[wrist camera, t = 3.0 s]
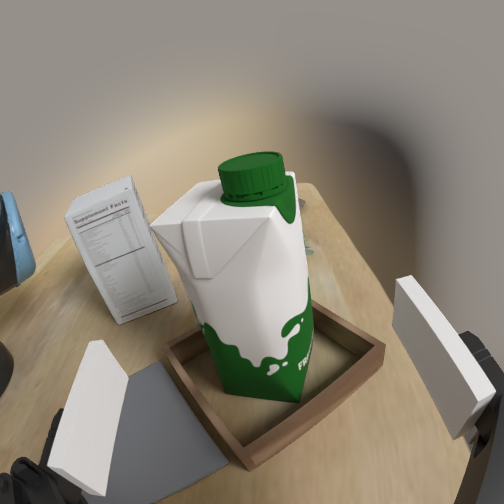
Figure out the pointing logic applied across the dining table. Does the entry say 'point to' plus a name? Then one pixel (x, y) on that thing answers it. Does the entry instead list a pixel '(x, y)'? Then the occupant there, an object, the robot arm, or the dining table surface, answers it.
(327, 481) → the dining table surface
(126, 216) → the supplement box
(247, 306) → the soya milk
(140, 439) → the rubber mat
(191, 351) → the walnut frame
